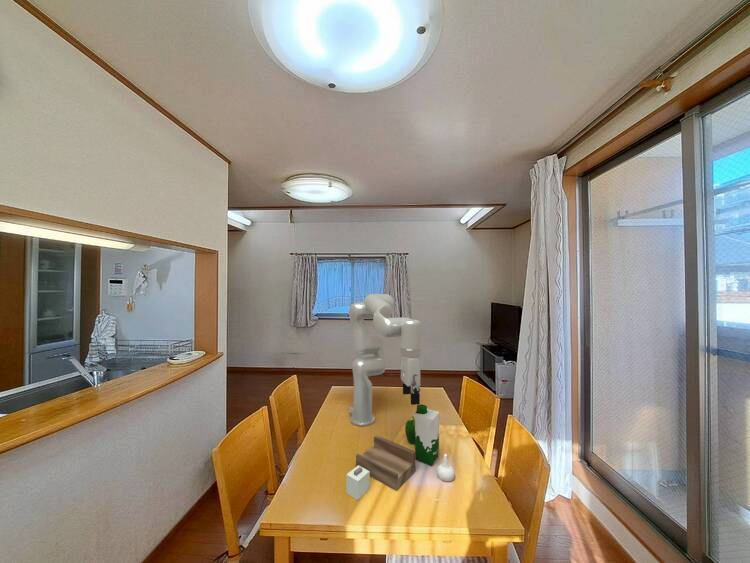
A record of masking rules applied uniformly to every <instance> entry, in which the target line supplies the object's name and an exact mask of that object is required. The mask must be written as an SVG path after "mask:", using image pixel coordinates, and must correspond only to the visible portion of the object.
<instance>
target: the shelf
mask: <svg viewBox="0 0 750 563" xmlns="http://www.w3.org/2000/svg"><path fill="white" fill-rule="evenodd" d="M416 463H417V462H416V451H415V449H414V450H413V449H411V448H408V447H407V446H404V445H402V444H399V443H396V442H394V441H392V440H390V439H387V438H385V437H383V436H381V435H377V434H376V435H375V436H374V437H373V446H372V447H370V448H369V449H368V450H366V451H365V452H364V453H362V454H359V453H356V455H355V468H356V467H357V466H358V465H359V466H361V467H362V468H364V469H366V470H368V471H370V477H371V478H372V479H374V480H375V481H377V482H378V483H381V484H383V485H385V486H386V487H389V488H390V489H392V490H394V491H398V490H399V489H400V487H402V486H403V484H405V482H406V481H407V480H408V479H409V478H410V477H411V476H412V475H413V474H414V473H415V472H416V466H417V465H416Z"/></svg>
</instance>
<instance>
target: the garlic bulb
mask: <svg viewBox="0 0 750 563" xmlns="http://www.w3.org/2000/svg"><path fill="white" fill-rule="evenodd" d="M455 474H456V473H455V470H454V468H453V467H452V466H451V465H450V464H449V460H448V454H447V453H444V455H443V460H442V463H440V464H438V466H437V467H436V476H437V477H438V479H440V480H441V481H443V482H451V481H453V480H454V479H455Z"/></svg>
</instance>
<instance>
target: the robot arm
mask: <svg viewBox="0 0 750 563" xmlns="http://www.w3.org/2000/svg"><path fill="white" fill-rule="evenodd" d="M394 303H395V302H394V299H393V296H391V295H390V294H387V293H371V294H367V295H366V297H364V300H363V302H362V301H361V302H355V303H352V304H351V305H350V306H349V310H348V316H349V321H350V323H351V327H352V336H353V337H352V339H353V349H354V350H353V351H354V353H355V354H356V355H360V356H362V355H373V356H363V357H359V358H355V359H354V360H353V361H352V364H351V369H352V378H353V406H351V407H350V408H349V410H348V413H350V414H351V415H350V418H349V419H350V423H352V424H353V425H355V426H357V427H358V426H360V427H366V426H370V425H371V426H372V425H373V424H374V423H375V421H376V416H375V415H374V414H373V383H372V382H371V380H370V379H369V377H371V376H379V375H383V373H384V372H385V371H386V353H385V345H384V341H383V338H382V337H385V338H397V337H400V357H401V361H400V362H401V363H400V380H401V381H402V394H403V395H410V404H411V405H412V406H413V405H416V406H417V405H420V403H421V402H420V401H421V400H420V399H421V398H420V395H421V394H420V393H421V362H420V359H421V358H422V323H421V321H420V320H418V319H412V318H410V317H405V316H404V317H402V316H401V317H391V316H392V315H393V308H394V305H395V304H394ZM365 319H373V320H372V322H373V326H374V329H375V330H376V331H377V332H378V334H380V335H381V336H382V337H381V336H380V335H378V334H370V328H369V325H368V323H367V322H366V321H365Z"/></svg>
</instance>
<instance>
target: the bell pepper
mask: <svg viewBox="0 0 750 563" xmlns="http://www.w3.org/2000/svg"><path fill="white" fill-rule="evenodd" d="M411 418H412V419H408V420H407V421H406V423H405V426H404V429H405V430H404V432H405V437H406V439H407V441H408V443H410V444H413V445H415V418H414V415H411Z"/></svg>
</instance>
